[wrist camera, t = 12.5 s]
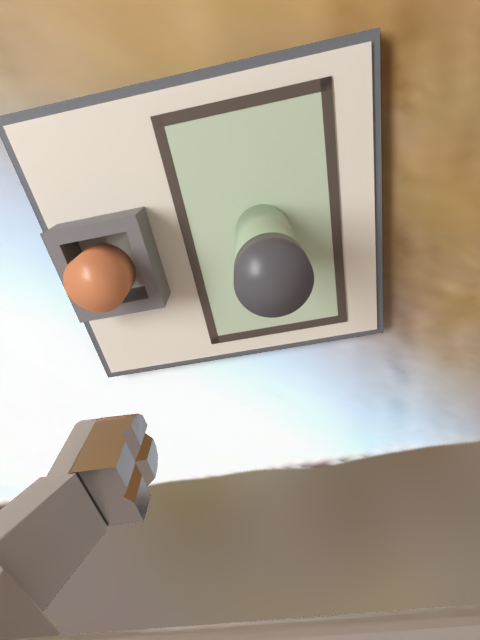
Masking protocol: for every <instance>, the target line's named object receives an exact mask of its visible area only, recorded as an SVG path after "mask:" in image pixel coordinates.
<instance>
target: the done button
mask: <svg viewBox="0 0 480 640" xmlns="http://www.w3.org/2000/svg"><path fill="white" fill-rule="evenodd" d="M135 278H136V271H135V266H134V264H133V262H132V260H131V258H130V257H129V256H128V255H127V254H126V253H125V252H124V251H123V250H122V249H120V248H118V247H117V246H114V245H111V244H106V243H99V244H94V245H91V246H89V247H88V248H86V249H85V250H84V251H83V252H82V253H80V254H79V255H78V256H77V257H76V258H75V259H73V260H72V261H71V262H70V263H69V264H68V265H67V267H66V268H65V271H64V274H63V284H64V288H65V290H66V292H67V294H68V296H69V297H70V298H71V300H72V301H73V302H74V303H76V304H77V305H78V306H80V307H81V308H83V309H85V310H88V311H91V312H96V313H104V312H109V311H112V310H114V309H116V308H117V307H118V306H119V305H120V304H121V303H122V302H123V300H124V299H125V297H126V296H127V294H128V292H129V291H130V289H131V288H132V286H133V284H134V282H135Z"/></svg>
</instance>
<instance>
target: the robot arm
mask: <svg viewBox="0 0 480 640" xmlns="http://www.w3.org/2000/svg"><path fill="white" fill-rule="evenodd" d="M146 428H147V424H146V422H145V419H144V417H143V415H140V414H131V415H123V416H114V417H105V418H100V419H91V420H82V421H80V422H78V423H77V424H76V425H75V426H74V428H73V430H72V432H71V433H70V435H69V437H68V439H67V441H66V442H65V444H64V446H63V448H62V450H61V451H60V453H59V455H58V457H57V459H56V460H55V462H54V464H53V466H52V468H51V469H50V471H49V473H48V475H47V477H41V478H39V479H38V480H36V481H35V482H34V483H33V484H32V485H30V486H29V487H28V488H27V489H25V490H24V491H23V492H22V493H21V494H19V495H18V496H17V497H16V498H14V499H13V500H12V501H11V502H10V503H8V504H7V505H6V506H5V507H3V508H2V509H1V510H0V640H480V605H468V606H453V607H439V608H427V609H412V610H398V611H385V612H371V613H358V614H345V615H331V616H317V617H303V618H291V619H276V620H265V621H249V622H236V623H223V624H209V625H195V626H182V627H169V628H156V629H141V630H128V631H114V632H101V633H87V634H75V635H74V634H73V635H60V636H59V631H58V628H57V626H56V625H55V624H54V623H53V622H52V621H51V620H50V618H49V617H48V616H47V615H46V614H45V613H44V611H45V609H46V608H47V607H48V605H49V604H50V603H51V602H52V600H53V599H54V598H55V596H56V595H57V594H58V593H59V591H60V590H61V589H62V588H63V586H64V585H65V584H66V582H67V581H68V580H69V579H70V577H71V576H72V575H73V573H74V572H75V571H76V569H77V568H78V567H79V566H80V564H81V563H82V562H83V560H84V559H85V558H86V557H87V555H88V554H89V553H90V552H91V550H92V549H93V548H94V546H95V545H96V544H97V542H98V541H99V540H100V539H101V537H102V536H103V535H104V534H105V532H106V531H107V530H108V526H114V525H122V524H129V523H136V522H144V519H145V515H146V511H147V507H148V503H149V500H150V496H151V494H150V492H149V490H148V488H147V486H148V485H149V484H150V483H151V482H152V481H153V480H154V478H155V476H156V471H157V466H158V454H157V449H156V445H155V442H154V440H153V438H151V437H150V436H148V435H147V434H145V431H146Z"/></svg>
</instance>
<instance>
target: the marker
mask: <svg viewBox="0 0 480 640" xmlns="http://www.w3.org/2000/svg"><path fill="white" fill-rule="evenodd" d="M313 285H314V272H313V268H312V265H311V263H310V261H309V259H308V257H307V255H306V253H305V251H304V249H303V248H302V246H301V245H300V244H299V242H298V240H297V238H296V236H295V234H294V231H293V229H292V227H291V225H290V223H289V221H288V219H287V217H286V216H285V214H284V213H283V212H282V211H281V210H280V209H278V208H277V207H275V206H272V205H268V204H259V205H255V206H252V207H250V208H248V209H247V210H246V211H245V212H244V213H243V214H242V215H241V216H240V218H239V219H238V221H237V224H236V229H235V262H234V290H235V294H236V296H237V298H238V300H239V301H240V303H241V304H242V305H243V306H244V307H245V308H246V309H247V310H249V311H250V312H252V313H254V314H256V315H259V316H262V317H268V318H276V317H282V316H286V315H288V314H291V313H293V312H294V311H296V310H298V309H299V308H300V307H301V306H302V305H303V304H304V303H305V302H306V301H307V299H308V298H309V296H310V294H311V292H312V289H313Z"/></svg>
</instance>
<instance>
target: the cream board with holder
mask: <svg viewBox="0 0 480 640" xmlns="http://www.w3.org/2000/svg"><path fill="white" fill-rule="evenodd" d="M0 137H1V139H2V141H3V144H4V146H5V148H6V150H7V153H8V155H9V157H10V159H11V162H12V164H13V166H14V168H15V170H16V173H17V175H18V177H19V179H20V182H21V184H22V186H23V188H24V190H25V193H26V195H27V197H28V199H29V202H30V204H31V206H32V208H33V211H34V213H35V215H36V217H37V219H38V222H39V224H40V226H41V228H42V231H43V233H41V234H40V235H41V237H42V240H43V242H44V244H45V246H46V248H47V251H48V253H49V255H50V257H51V259H52V262H53V264H54V266H55V268H56V270H57V273H58V275H59V277H60V279H61V281H62V284H63V274H64V271H65V268H66V267H67V265H68V264H69V263H70V262H71V261H72V260H73V259H75V258H76V257H77V256H78V255H79V254H80V253H82V252H83V251H84V250H85V249H86V248H88V247H89V246H91V245H94V244H99V243H106V244H111V245H114V246H117V247H118V248H120V249H122V250H123V251H124V252H125V253H126V254H127V255H128V256H129V257H130V258H131V260H132V262H133V264H134V266H135V271H136V278H135V282H134V284H133V286H132V288H131V289H130V291H129V292H128V294H127V296H126V297H125V299H124V300H123V302H122V303H121V304H120V305H119V306H118V307H117V308H116V309H114V310H112V311H109V312H104V313H96V312H91V311H88V310H85V309H83V308H81V307H80V306H78V305H77V304H76V303H74V302H73V301H72V300H71V298H70V297H69V296H68V297H69V299H70V301H71V303H72V306H73V308H74V310H75V312H76V315H77V317H78V319H79V321H80V323H81V322H84V324H85V327H86V329H87V331H88V333H89V335H90V338H91V340H92V342H93V344H94V347H95V349H96V351H97V353H98V356H99V358H100V360H101V362H102V364H103V367H104V369H105V371H106V373H107V376H108V377H114V376H120V375H126V374H133V373H139V372H145V371H151V370H157V369H163V368H169V367H175V366H181V365H188V364H194V363H200V362H206V361H212V360H218V359H224V358H230V357H237V356H243V355H249V354H255V353H261V352H267V351H273V350H279V349H285V348H292V347H298V346H304V345H310V344H316V343H322V342H328V341H334V340H340V339H347V338H353V337H359V336H365V335H371V334H377V333H383V254H382V164H381V74H380V27H379V28H375V29H371V30H367V31H362V32H358V33H354V34H349V35H345V36H341V37H337V38H332V39H328V40H324V41H319V42H315V43H311V44H307V45H302V46H298V47H294V48H289V49H285V50H281V51H277V52H272V53H268V54H264V55H259V56H255V57H251V58H247V59H242V60H238V61H234V62H229V63H225V64H221V65H217V66H212V67H208V68H204V69H199V70H195V71H191V72H187V73H182V74H178V75H174V76H169V77H165V78H161V79H157V80H152V81H148V82H144V83H139V84H135V85H131V86H127V87H122V88H118V89H114V90H109V91H105V92H101V93H97V94H92V95H88V96H84V97H79V98H75V99H71V100H67V101H62V102H58V103H54V104H49V105H45V106H41V107H37V108H32V109H28V110H24V111H19V112H15V113H11V114H7V115H2V116H0ZM259 204H268V205H272V206H275V207H277V208H278V209H280V210H281V211H282V212H283V213H284V214H285V216H286V217H287V219H288V221H289V223H290V225H291V227H292V229H293V231H294V234H295V236H296V238H297V240H298V242H299V244H300V245H301V246H302V248H303V249H304V251H305V253H306V255H307V257H308V259H309V261H310V263H311V265H312V268H313V272H314V285H313V289H312V292H311V294H310V296H309V298H308V299H307V301H306V302H305V303H304V304H303V305H302V306H301V307H300V308H299V309H298V310H296V311H294V312H293V313H291V314H288V315H286V316H282V317H276V318H268V317H262V316H259V315H256V314H254V313H252V312H250V311H249V310H247V309H246V308H245V307H244V306H243V305H242V304H241V303H240V301H239V300H238V298H237V296H236V294H235V290H234V262H235V229H236V224H237V221H238V219H239V218H240V216H241V215H242V214H243V213H244V212H245V211H246V210H247V209H248V208H250V207H252V206H255V205H259ZM63 286H64V284H63ZM67 295H68V294H67Z"/></svg>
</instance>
